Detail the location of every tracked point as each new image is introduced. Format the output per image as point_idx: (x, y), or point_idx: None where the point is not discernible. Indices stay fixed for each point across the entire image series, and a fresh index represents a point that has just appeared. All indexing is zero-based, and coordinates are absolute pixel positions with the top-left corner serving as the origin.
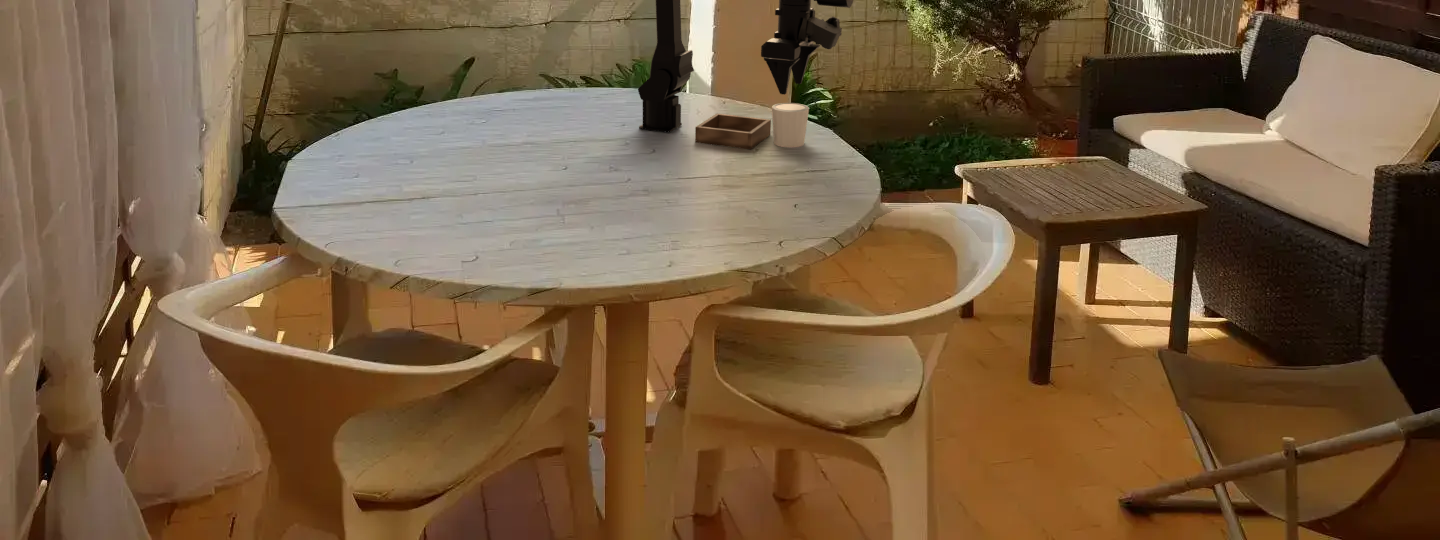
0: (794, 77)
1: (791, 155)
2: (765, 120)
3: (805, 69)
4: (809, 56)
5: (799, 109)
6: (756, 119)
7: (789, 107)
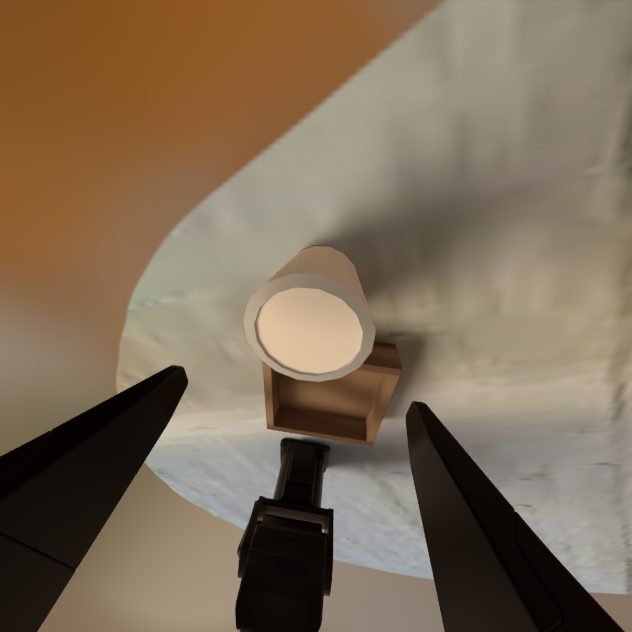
0: (172, 410)
1: (432, 256)
2: None
3: (88, 413)
4: None
5: (326, 304)
6: (271, 373)
7: (311, 338)
